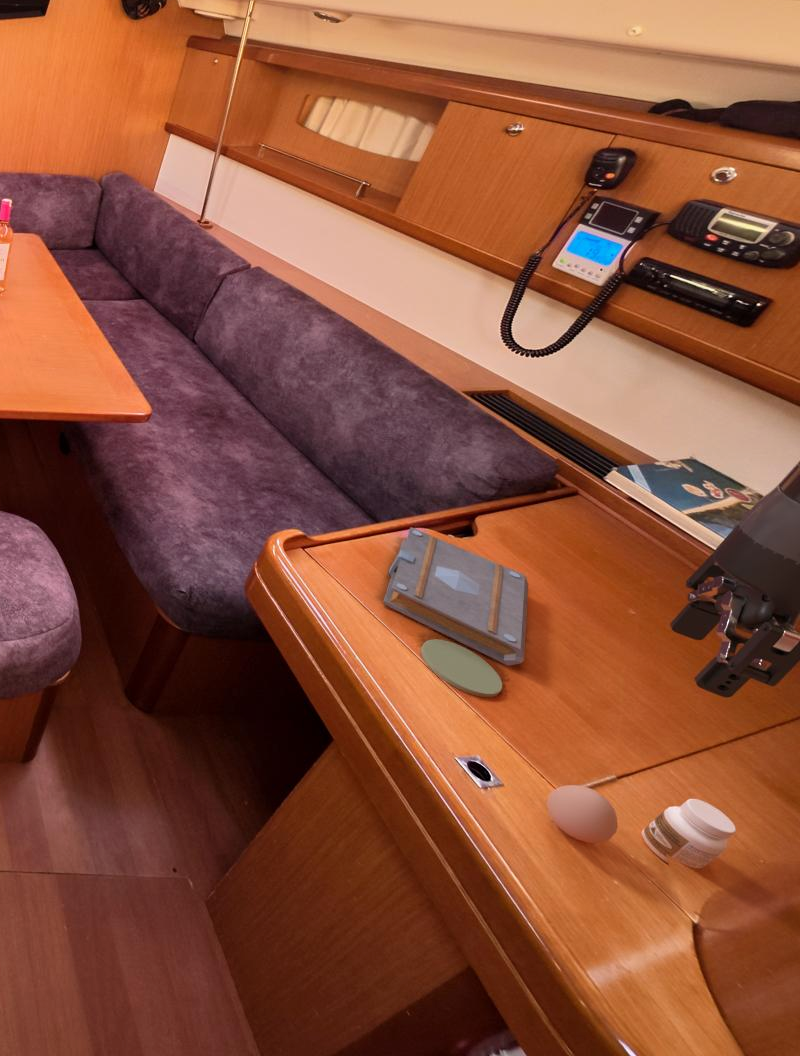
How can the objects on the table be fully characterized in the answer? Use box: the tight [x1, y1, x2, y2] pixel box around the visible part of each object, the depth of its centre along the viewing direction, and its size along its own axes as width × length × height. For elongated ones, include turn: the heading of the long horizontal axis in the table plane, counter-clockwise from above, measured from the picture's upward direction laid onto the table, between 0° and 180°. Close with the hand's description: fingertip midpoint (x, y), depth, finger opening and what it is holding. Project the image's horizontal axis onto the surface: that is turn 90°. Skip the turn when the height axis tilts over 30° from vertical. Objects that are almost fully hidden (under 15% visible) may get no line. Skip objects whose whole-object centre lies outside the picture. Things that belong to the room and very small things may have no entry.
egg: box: [546, 784, 618, 844], centre depth 73 cm, size 5×5×7 cm
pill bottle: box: [641, 798, 737, 869], centre depth 71 cm, size 4×4×8 cm
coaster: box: [420, 638, 503, 698], centre depth 93 cm, size 9×9×1 cm
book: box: [382, 526, 529, 666], centre depth 104 cm, size 21×16×5 cm
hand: (696, 660), depth 64 cm, fingers open, 8 cm apart
